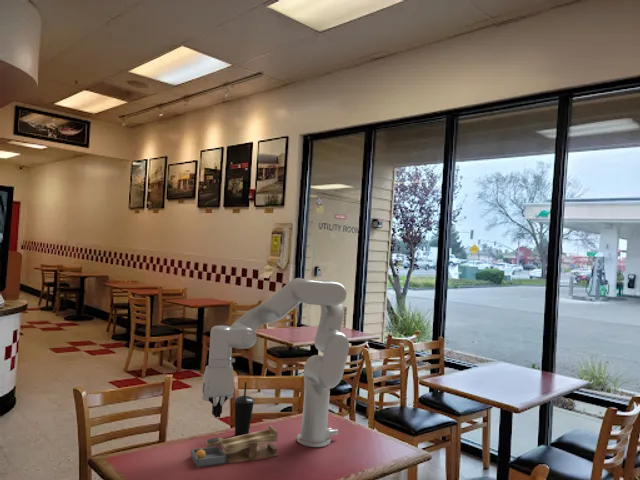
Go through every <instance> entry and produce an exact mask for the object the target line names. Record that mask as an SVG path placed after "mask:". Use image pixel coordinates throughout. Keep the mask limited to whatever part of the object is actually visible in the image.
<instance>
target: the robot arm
mask: <svg viewBox="0 0 640 480" xmlns="http://www.w3.org/2000/svg"><path fill="white" fill-rule="evenodd" d="M347 296H348V295H347V290H346V288H345V286H344V285H343V284H342V283H339V282H337V281H331V280H326V279H321V280H318V281H317V280H311V279H306V278H302V277H301V278H300V277H296V278H293V279H292V280H290V281H289V282H288V283H286V284H285V285H284V286H283V287H281V289H279V290H278V291H277V292H276V293H274V294H273V295H272V296H271V297H269V298H268V299H267V300H266V301H264V302H262V303H260V304H258V305H256V306H255V307H253V308H251V309H249V310H248V311H246V312H245V313H244V314H243V315H242V316H240V317H239V318H238V319H236V320H235V321H234V322H233V323H232V324H231V325H230V326H229V325H215V326H212V327H211V329H210V336H209V337H210V338H209V352H208V353H209V354H208V365H206V366H205V369H204V372H203V378H202V387H201V388H202V389H201V392H202V396H201V399H202V400H203V401H206V402H209V403H211V404H212V405H211V406H212V407H211V408H212V409H211V414H212V415H213V417H214V418H215V419H216V418H221V415H222V413H223V406H224V404H225V403H226V402H227V400H231V399H232V398H234V390H235V378H234V377H235V376H234V375H235V374H234V367H233V363H236V358H234V357H233V356H232V352H233V349H241V350H243V349H250V348H251V347H253V346H254V345H255V344H256V343H257V340H258V339H257V337H258V336H257V333H256V332H255V331H256V330H257V329H259V328H260V327H262V326H264V325H266V324H269V323H270V324H271V323H274V322H277V321H280V320H282V319H283V318H285V317H286V316H287V315H288V314H289V313H290V312H291V311H293V310H294V309H295V308H296V307H298V306H299V305H300V304H306V305H315V306H320V318H319V323H318V326H317V329H316V333H315V337H314V347H315V349H316V350H318V351H319V352H320V353H322V355H320V354H313V355H311V356H310V357H308V358H307V360H306V361H305V362H304V366H303V376H304V377H303V380H304V393H303V404H302V406H303V407H302V416H301V417H302V419H301V432H300V433H299V434H297V436H296V441H297V442H298V443H299V444H300V445H302V446H304V447H309V448H322V447H326V446H329V445H330V444H331V436H337V435H339V429H334V428H332V427H328V421H329V409H330V408H329V407H330V406H329V405H330V394H331V393H330V392H331V391H330V389H334V388H335V387H336V386H337V385H339V384H340V382H341V380H342V378H343V375H344V371H345V367H346V364H347V360H348V355H349V352H350V351H349V350H350V342H349V340H348V339H349V338H348V336H346V335H345V333H343V332H341V330H342V325H343V320H344V307H343V306H344V305H343V303H344V302H345V300H346V298H347ZM337 387H338V386H337ZM217 398H218V399H217ZM217 400H218V401H217Z"/></svg>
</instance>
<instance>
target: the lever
mask: <svg viewBox="0 0 640 480" xmlns="http://www.w3.org/2000/svg"><path fill="white" fill-rule="evenodd" d="M277 441H279V440H278V430H277V429H276V428H274V426H272V425H271V424H270V425H268V429H264V430H259V431H253V432H249V434H245V435H241V436H236V437H235V436H232V437H229V438H222V437H221V436H219V437H214V438H209V439H206V440H205V445H206V446H207V447H215V446H219V445H220V446H221V447H222V449H223V451H226V453H227V452H232V451H236V450H240V449H244V448H248V447H250V442H257V446H262V445H264V444H268V443H273V442H277Z"/></svg>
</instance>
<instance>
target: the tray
mask: <svg viewBox="0 0 640 480" xmlns="http://www.w3.org/2000/svg"><path fill="white" fill-rule="evenodd" d="M200 449H202V450H204V451H205V453H206V456H205V458H202V459H198V457H197V455H196V452H197V451H198V450H200ZM223 451H224V450H223V448H221V447H220V446H219V445H215V446H209V447H208V446H207V447H201V448H192V449H190V458H191V460H192V462H193V463H194V466H195V467H196V469H198V468H205V467H211V466H220V465H226V464H227V463H226V455H225V453H224V452H223Z"/></svg>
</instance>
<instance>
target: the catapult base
mask: <svg viewBox="0 0 640 480" xmlns="http://www.w3.org/2000/svg"><path fill="white" fill-rule="evenodd" d="M243 435H245V434H243ZM222 451H223V452H224V453H225V455H226V464H232V463H234V464H235V463H240V462H241V463H242V462H248V461H255V460H262V459H269V458H270V459H271V458H278V457H279V454H278V448H277V447H276V446H275V444H273V442H269V443H267V445H259V446H258V445H257V442H250V447H248V448H244V449H240V450H236V451H232V452H227V453H226V451H225V450H222Z"/></svg>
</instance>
